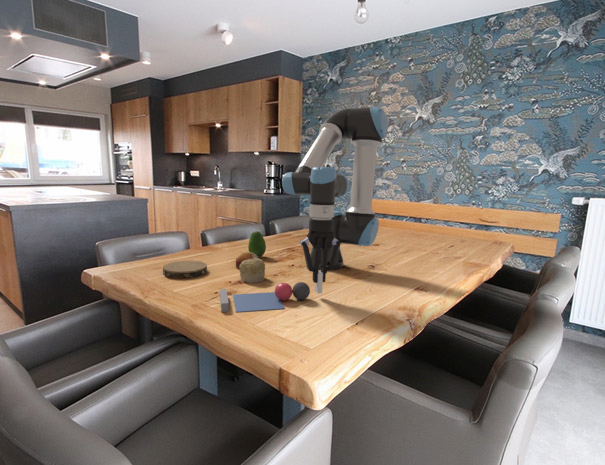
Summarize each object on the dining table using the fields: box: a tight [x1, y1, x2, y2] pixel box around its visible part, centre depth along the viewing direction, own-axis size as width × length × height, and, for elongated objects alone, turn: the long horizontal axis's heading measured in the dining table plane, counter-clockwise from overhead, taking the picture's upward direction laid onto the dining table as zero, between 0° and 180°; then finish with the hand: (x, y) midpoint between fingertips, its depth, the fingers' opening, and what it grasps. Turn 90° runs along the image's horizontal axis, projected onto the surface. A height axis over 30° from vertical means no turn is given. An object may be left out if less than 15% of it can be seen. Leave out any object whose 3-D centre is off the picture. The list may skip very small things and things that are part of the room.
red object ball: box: [274, 282, 293, 302], centre depth 109 cm, size 6×6×6 cm
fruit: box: [247, 230, 267, 258], centre depth 160 cm, size 8×8×12 cm
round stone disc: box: [162, 260, 208, 280], centre depth 135 cm, size 16×16×3 cm
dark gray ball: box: [292, 281, 311, 301], centre depth 110 cm, size 6×6×6 cm
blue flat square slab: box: [232, 291, 286, 313], centre depth 107 cm, size 14×14×1 cm
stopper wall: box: [219, 288, 230, 313], centre depth 105 cm, size 2×12×2 cm, turn 15°
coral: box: [238, 257, 266, 284], centre depth 129 cm, size 9×9×8 cm
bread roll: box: [235, 251, 259, 270], centre depth 145 cm, size 10×10×8 cm
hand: (318, 291), depth 112 cm, fingers closed
